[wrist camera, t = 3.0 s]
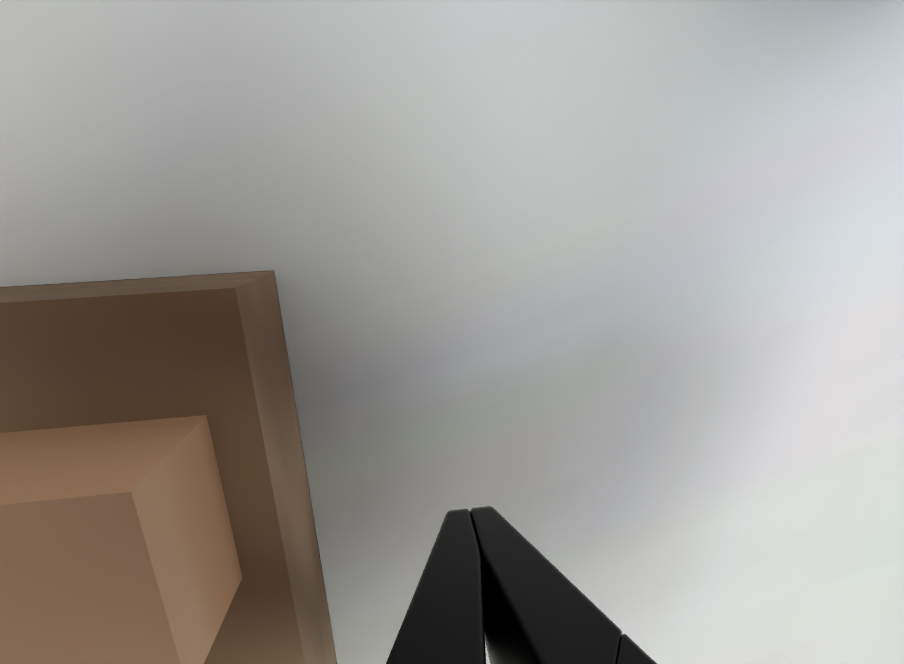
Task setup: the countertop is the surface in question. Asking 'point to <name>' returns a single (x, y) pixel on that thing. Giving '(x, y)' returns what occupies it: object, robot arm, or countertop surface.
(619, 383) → the countertop surface
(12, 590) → the block
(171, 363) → the wood-grain board
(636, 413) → the countertop surface
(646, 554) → the countertop surface
